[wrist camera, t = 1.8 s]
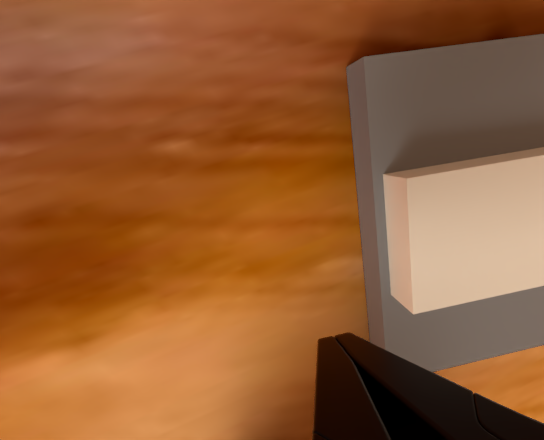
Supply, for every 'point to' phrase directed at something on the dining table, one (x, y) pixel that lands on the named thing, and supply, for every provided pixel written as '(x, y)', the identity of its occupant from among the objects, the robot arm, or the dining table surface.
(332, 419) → the robot arm
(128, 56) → the dining table surface
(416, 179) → the tile
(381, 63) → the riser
